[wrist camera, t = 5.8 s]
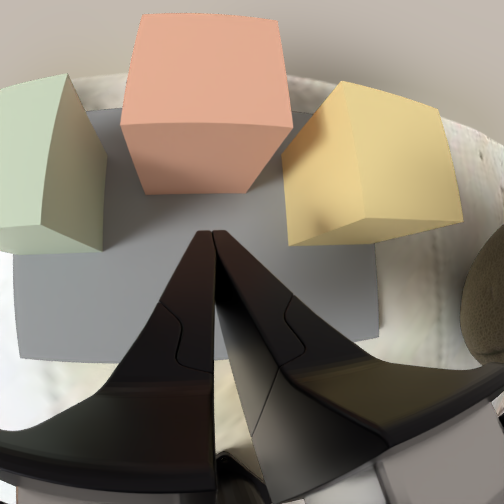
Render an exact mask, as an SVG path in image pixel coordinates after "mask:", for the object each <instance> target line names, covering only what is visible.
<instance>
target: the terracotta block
mask: <svg viewBox="0 0 504 504" xmlns="http://www.w3.org/2000/svg"><path fill="white" fill-rule="evenodd" d="M120 126H121V129H122V132H123V135H124V138H125V141H126V144H127V147H128V149H129V152H130V155H131V158H132V161H133V163H134V166H135V169H136V171H137V174H138V177H139V179H140V182H141V185H142V187H143V190H144V192H145V195H161V194H214V193H242V194H245V193H246V192H247V191H248V189H249V188H250V186H251V185H252V184H253V182H254V181H255V179H256V178H257V177H258V175H259V174H260V172H261V171H262V170H263V168H264V167H265V166H266V164H267V163H268V161H269V160H270V159H271V157H272V156H273V155H274V153H275V152H276V150H277V149H278V148H279V146H280V145H281V144H282V142H283V141H284V140H285V138H286V137H287V136H288V134H289V133H290V131H291V130H292V129H293V121H292V113H291V106H290V98H289V91H288V84H287V77H286V70H285V63H284V58H283V51H282V44H281V39H280V33H279V27H278V21H276V20H269V19H261V18H253V17H244V16H235V15H222V14H202V13H164V14H143V15H142V18H141V21H140V25H139V29H138V33H137V37H136V41H135V45H134V50H133V54H132V58H131V63H130V68H129V73H128V78H127V84H126V89H125V95H124V101H123V108H122V115H121V122H120Z"/></svg>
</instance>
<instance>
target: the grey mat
mask: <svg viewBox="0 0 504 504" xmlns="http://www.w3.org/2000/svg"><path fill="white" fill-rule="evenodd" d="M291 113H292V121H293V129H292V130H291V131H290V133H289V134H288V136H287V137H286V138H285V140H284V141H283V142H282V144H281V145H280V146H279V148H278V149H277V150H276V152H275V153H274V155H273V156H272V157H271V159H270V160H269V161H268V163H267V164H266V166H265V167H264V168H263V170H262V171H261V172H260V174H259V175H258V177H257V178H256V179H255V181H254V182H253V184H252V185H251V186H250V188H249V189H248V191H247V192H246V193H245V194H242V193H214V194H161V195H145V192H144V190H143V187H142V185H141V182H140V179H139V177H138V174H137V171H136V169H135V166H134V163H133V161H132V158H131V155H130V152H129V149H128V147H127V144H126V141H125V138H124V135H123V132H122V129H121V126H120V122H121V115H122V108H115V109H104V110H94V111H86V114H87V116H88V118H89V120H90V122H91V124H92V126H93V128H94V130H95V132H96V134H97V136H98V138H99V140H100V142H101V144H102V146H103V148H104V150H105V151H106V153H107V155H108V156H107V166H106V177H105V191H104V209H103V252H90V253H62V254H35V255H16V254H13V288H14V307H15V320H16V330H17V339H18V346H19V353H20V358H25V359H35V360H47V361H62V362H81V363H120V361H121V360H122V359H123V357H124V356H125V354H126V353H127V351H128V350H129V349H130V347H131V346H132V344H133V343H134V341H135V340H136V338H137V337H138V335H139V334H140V332H141V331H142V329H143V328H144V326H145V324H146V323H147V321H148V319H149V317H150V316H151V314H152V312H153V310H154V308H155V306H156V304H157V303H158V301H159V299H160V297H161V295H162V293H163V291H164V289H165V288H166V286H167V284H168V282H169V280H170V278H171V276H172V275H173V273H174V271H175V269H176V267H177V265H178V264H179V262H180V260H181V258H182V256H183V255H184V253H185V251H186V249H187V247H188V246H189V244H190V242H191V240H192V238H193V237H194V235H195V233H196V232H197V231H198V230H210V231H211V232H212V231H213V230H226V231H228V232H229V233H230V234H231V235H232V236H233V237H234V238H235V239H236V240H237V241H238V242H239V243H240V244H241V245H243V246H244V247H245V248H246V249H247V250H248V251H249V252H250V253H251V254H252V255H253V256H254V257H255V258H256V259H257V260H258V261H260V262H261V263H262V264H263V265H264V266H265V267H266V268H267V269H268V270H269V271H270V272H271V273H272V274H273V275H274V276H276V277H277V278H278V279H279V280H280V281H281V282H282V283H283V284H284V285H285V286H286V287H287V288H288V289H289V290H290V291H291V292H293V295H296V296H297V297H298V298H299V299H300V300H301V301H302V302H303V303H304V304H306V305H307V306H308V307H309V308H310V309H311V310H312V311H314V312H315V313H316V314H317V315H318V316H319V317H321V318H322V319H323V320H325V321H326V322H327V323H328V324H330V325H331V326H332V327H333V328H335V329H336V330H337V331H339V332H340V333H341V334H343V335H344V336H345V337H347V338H348V339H350V340H351V341H352V342H357V341H362V340H367V339H372V338H377V337H379V313H378V287H377V270H376V256H375V244H374V243H373V244H354V245H316V246H288V231H287V218H286V204H285V192H284V180H283V169H282V157H281V154H282V153H283V152H284V150H285V149H286V148H287V147H288V145H289V144H290V143H291V142H292V140H293V139H294V138H295V137H296V135H297V134H298V133H299V132H300V130H301V129H302V128H303V127H304V125H305V124H306V123H307V122H308V121H309V119H310V118H311V117H312V116H313V114H309V113H301V112H292V111H291ZM224 359H229V358H228V354H227V350H226V347H225V343H224V339H223V335H222V331H221V327H220V323H219V319H218V315H217V311H216V306H215V334H214V360H224Z"/></svg>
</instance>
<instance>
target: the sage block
mask: <svg viewBox="0 0 504 504" xmlns="http://www.w3.org/2000/svg"><path fill="white" fill-rule="evenodd" d="M107 156H108V155H107V153H106V151H105V150H104V148H103V146H102V144H101V142H100V140H99V138H98V136H97V134H96V132H95V130H94V128H93V126H92V124H91V122H90V120H89V118H88V116H87V114H86V112H85V110H84V108H83V106H82V103H81V101H80V99H79V97H78V95H77V93H76V91H75V89H74V86H73V84H72V82H71V80H70V77H69V75H68V73H67V74H61V75H56V76H51V77H46V78H41V79H37V80H33V81H29V82H24V83H21V84H17V85H13V86H9V87H6V88H2V89H0V251H2V252H7V253H12V254H16V255H35V254H62V253H90V252H103V209H104V191H105V177H106V166H107Z"/></svg>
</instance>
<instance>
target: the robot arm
mask: <svg viewBox="0 0 504 504" xmlns="http://www.w3.org/2000/svg"><path fill="white" fill-rule="evenodd" d="M215 306H216V311H217V315H218V319H219V323H220V327H221V331H222V335H223V339H224V343H225V347H226V350H227V354H228V358H229V362H230V365H231V369H232V373H233V376H234V380H235V384H236V387H237V391H238V394H239V398H240V401H241V405H242V408H243V412H244V415H245V419H246V422H247V425H248V429H249V432H250V435H251V437H252V442H253V446H254V449H255V452H256V455H257V458H258V461H259V465H260V468H261V471H262V474H263V477H264V480H265V482H263V481H262V480H261V479H260V478H258V477H257V476H256V475H255V474H253V473H252V472H251V471H250V470H248V469H247V468H246V467H245V466H244V465H242V464H241V463H240V462H239V461H238V460H237V459H235V458H234V457H233V456H232V455H231V454H230V453H228V452H221V453H219V454H218V455H216V453H215V423H214V334H215ZM503 391H504V363H499V362H489V363H487V364H485V365H483V366H481V367H479V368H476V369H471V370H449V369H438V368H428V367H419V366H411V365H402V364H395V363H389V362H385V361H382V360H380V359H377V358H375V357H374V356H372V355H370V354H369V353H367V352H366V351H364V350H363V349H362V348H360V347H359V346H358V345H356V344H355V343H354V342H352V341H351V340H350V339H348V338H347V337H345V336H344V335H343V334H341V333H340V332H339V331H337V330H336V329H335V328H333V327H332V326H331V325H330V324H328V323H327V322H326V321H325V320H323V319H322V318H321V317H319V316H318V315H317V314H316V313H315V312H314V311H312V310H311V309H310V308H309V307H308V306H307V305H306V304H304V303H303V302H302V301H301V300H300V299H299V298H298V297H297V296H296V295H293V292H291V291H290V290H289V289H288V288H287V287H286V286H285V285H284V284H283V283H282V282H281V281H280V280H279V279H278V278H277V277H276V276H274V275H273V274H272V273H271V272H270V271H269V270H268V269H267V268H266V267H265V266H264V265H263V264H262V263H261V262H260V261H258V260H257V259H256V258H255V257H254V256H253V255H252V254H251V253H250V252H249V251H248V250H247V249H246V248H245V247H244V246H243V245H241V244H240V243H239V242H238V241H237V240H236V239H235V238H234V237H233V236H232V235H231V234H230V233H229V232H228V231H226V230H213V231H212V232H211V231H210V230H198V231H197V232H196V233H195V235H194V237H193V238H192V240H191V242H190V244H189V246H188V247H187V249H186V251H185V253H184V255H183V256H182V258H181V260H180V262H179V264H178V265H177V267H176V269H175V271H174V273H173V275H172V276H171V278H170V280H169V282H168V284H167V286H166V288H165V289H164V291H163V293H162V295H161V297H160V299H159V301H158V303H157V304H156V306H155V308H154V310H153V312H152V314H151V316H150V317H149V319H148V321H147V323H146V324H145V326H144V328H143V329H142V331H141V332H140V334H139V335H138V337H137V338H136V340H135V341H134V343H133V344H132V346H131V347H130V349H129V350H128V351H127V353H126V354H125V356H124V357H123V359H122V360H121V361H120V363H119V364H118V366H117V367H116V369H115V370H114V372H113V373H112V375H111V376H110V377H109V379H108V380H107V382H106V383H105V384H104V385H103V386H102V387H101V388H100V389H99V390H98V391H97V392H96V393H95V394H94V395H92V396H91V397H89V398H87V399H85V400H83V401H82V402H80V403H78V404H76V405H74V406H72V407H71V408H69V409H67V410H65V411H63V412H61V413H59V414H57V415H55V416H54V417H52V418H50V419H48V420H46V421H44V422H42V423H40V424H38V425H36V426H33V427H31V428H28V429H24V430H19V431H7V430H1V429H0V480H2V481H4V482H6V483H9V484H11V485H13V486H16V504H283V503H287V502H291V501H296V500H300V499H304V501H305V504H504V413H503V414H502V415H500V416H499V417H498V415H497V413H496V411H495V409H494V407H493V405H492V404H491V402H492V401H493V400H494V399H495V398H496V397H498V396H499V395H500V394H501V393H502V392H503ZM224 457H226V458H228V459H227V460H221V459H222V458H224ZM0 504H8V503H5V502H2V501H0Z"/></svg>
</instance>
